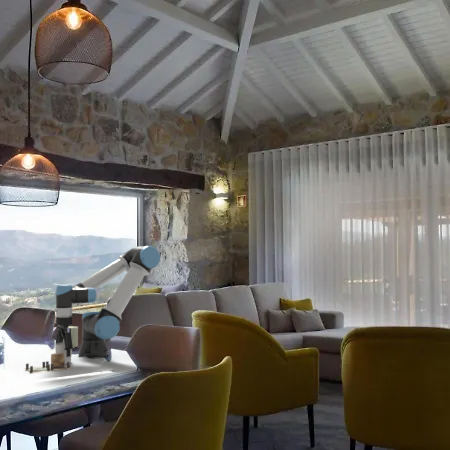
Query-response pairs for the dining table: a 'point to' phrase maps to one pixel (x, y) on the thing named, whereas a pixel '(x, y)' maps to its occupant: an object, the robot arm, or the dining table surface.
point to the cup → (60, 348)
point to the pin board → (45, 368)
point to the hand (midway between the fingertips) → (63, 361)
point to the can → (74, 335)
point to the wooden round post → (58, 360)
